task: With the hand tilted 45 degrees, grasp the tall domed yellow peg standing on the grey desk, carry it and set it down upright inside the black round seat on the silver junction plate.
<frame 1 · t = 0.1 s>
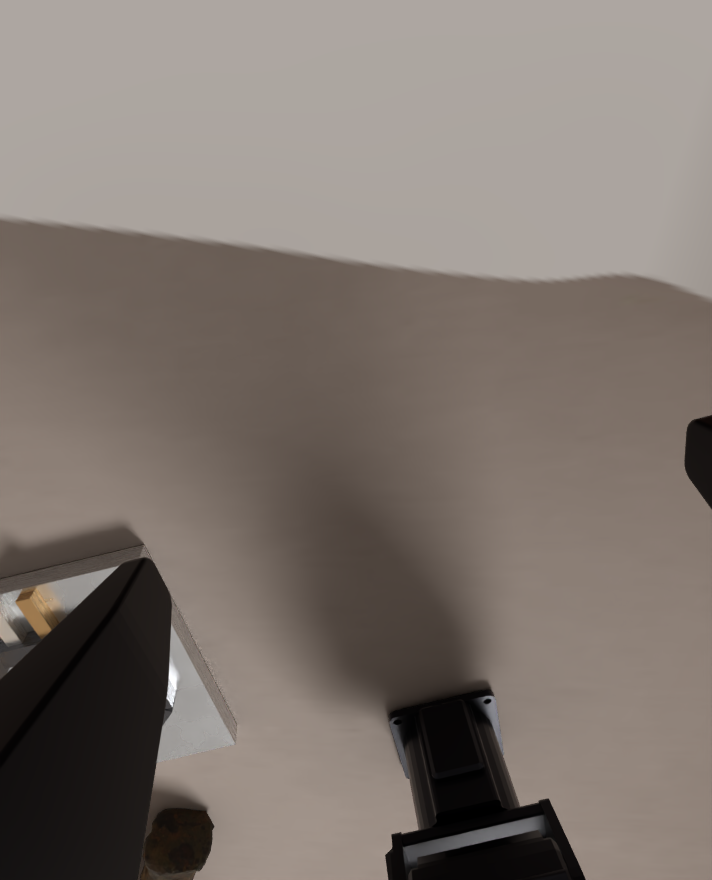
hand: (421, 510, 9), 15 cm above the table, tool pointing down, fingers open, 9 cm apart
junction plate: (87, 670, 30), on the table
hand tool: (169, 876, 41), on the table
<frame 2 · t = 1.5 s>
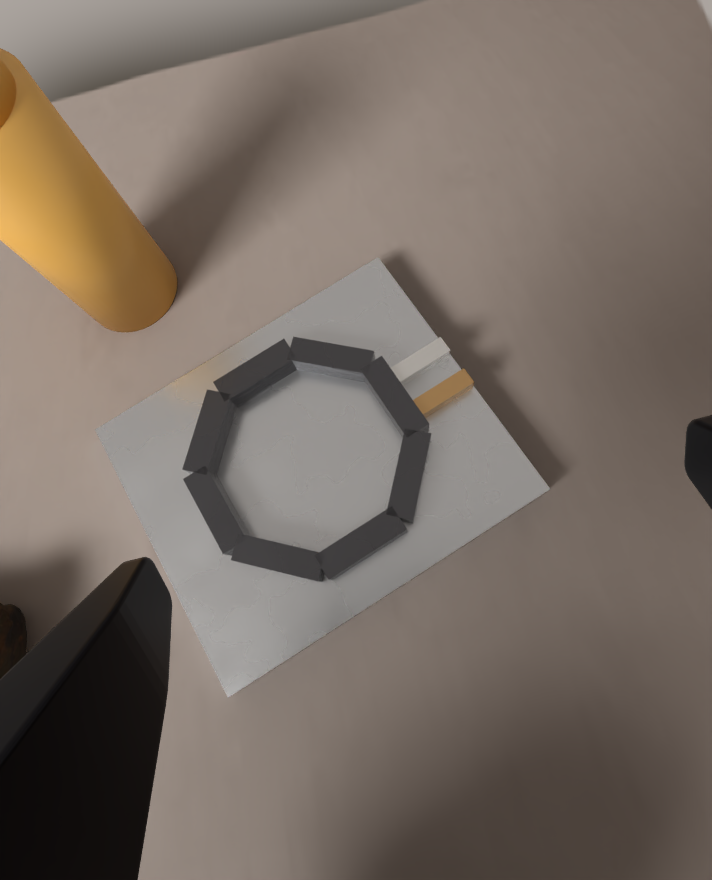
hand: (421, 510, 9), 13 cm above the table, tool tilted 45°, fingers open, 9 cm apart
junction plate: (314, 464, 23), on the table
domed yellow peg: (132, 289, 27), on the table
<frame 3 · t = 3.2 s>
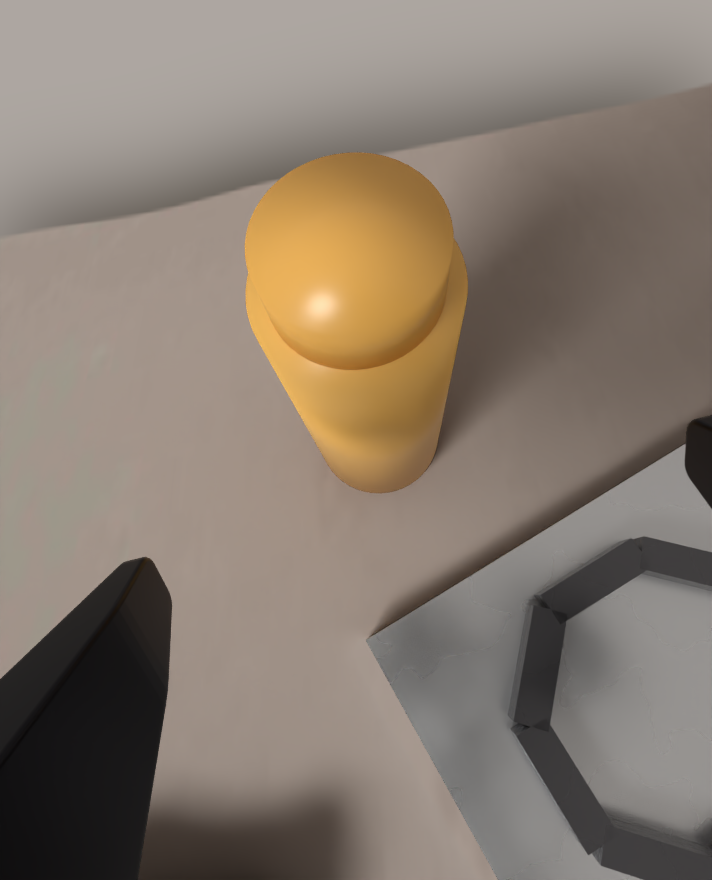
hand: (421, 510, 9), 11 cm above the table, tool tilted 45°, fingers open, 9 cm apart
junction plate: (652, 694, 18), on the table
domed yellow peg: (378, 435, 21), on the table
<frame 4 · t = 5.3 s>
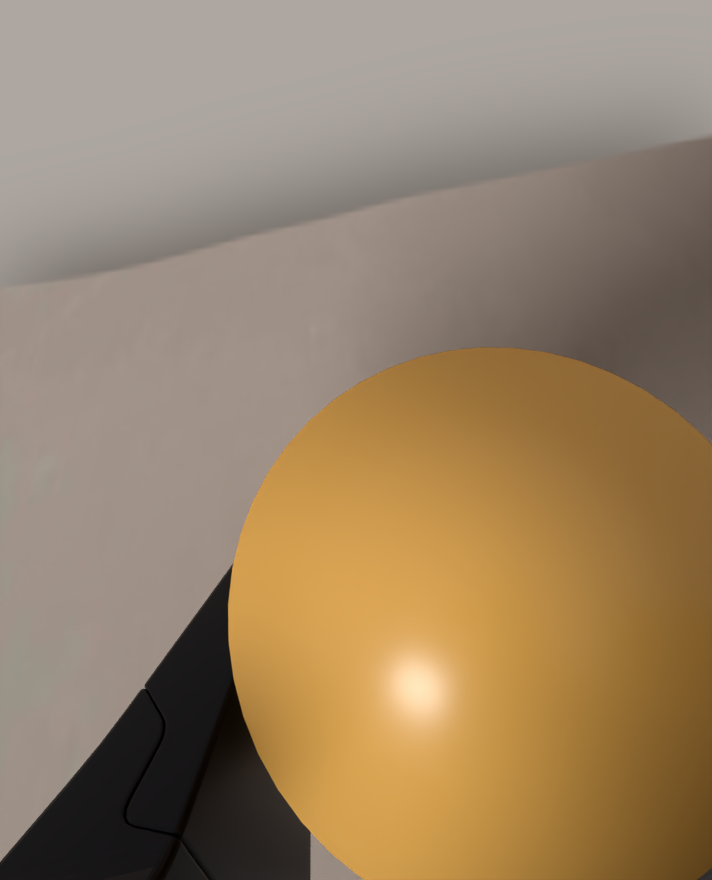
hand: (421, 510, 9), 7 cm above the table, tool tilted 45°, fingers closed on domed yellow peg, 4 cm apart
domed yellow peg: (428, 596, 15), on the table, touching gripper
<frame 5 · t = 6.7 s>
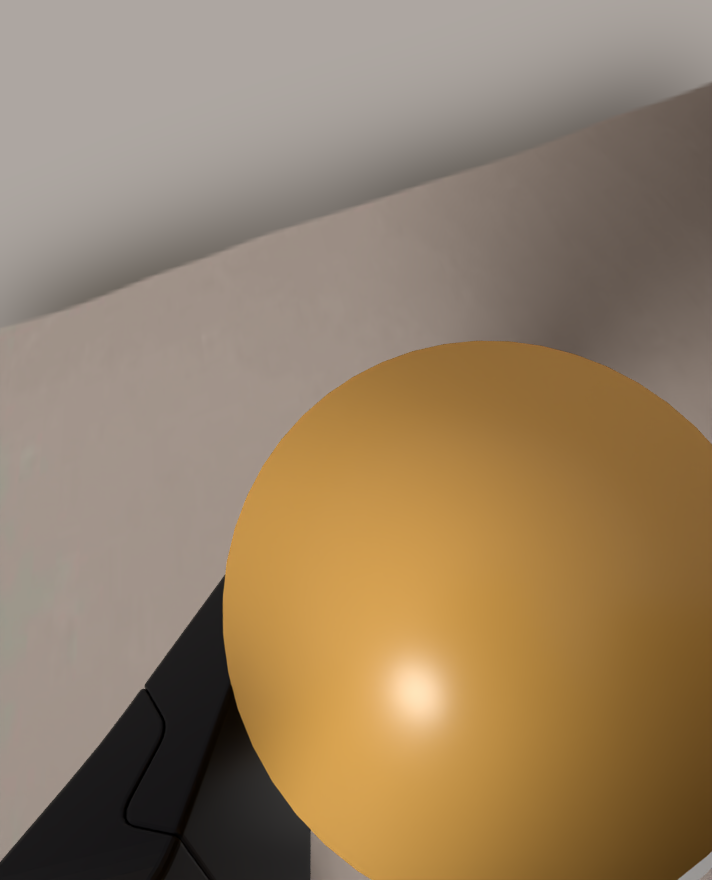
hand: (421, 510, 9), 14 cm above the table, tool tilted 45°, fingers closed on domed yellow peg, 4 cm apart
junction plate: (553, 710, 21), on the table
domed yellow peg: (427, 595, 15), point 7 cm above the table, touching gripper
when the fingers open (9 cm above the table, at t = 8.5 s): domed yellow peg drops 1 cm, resting on junction plate.
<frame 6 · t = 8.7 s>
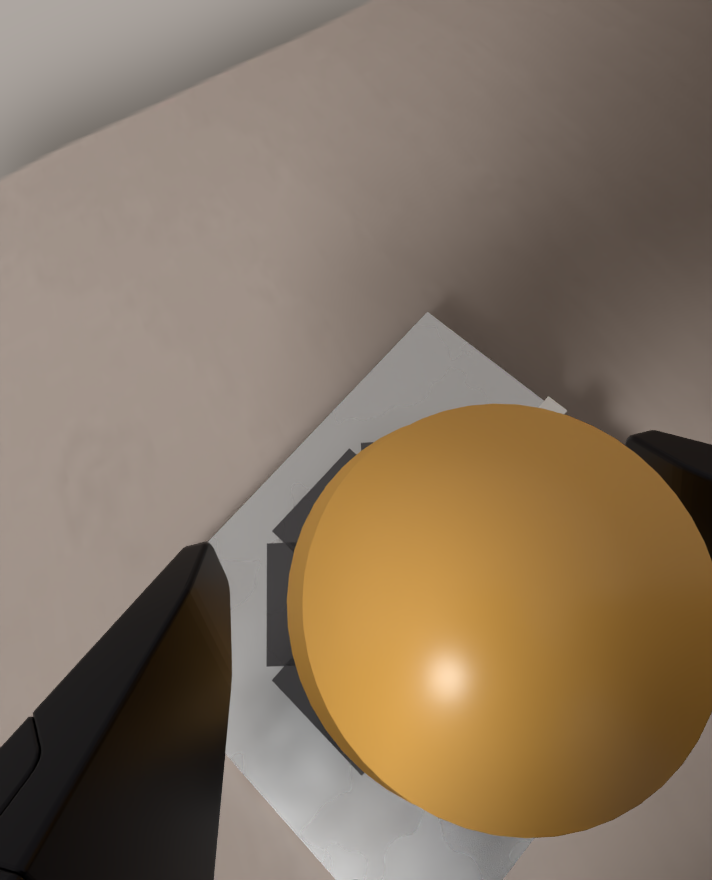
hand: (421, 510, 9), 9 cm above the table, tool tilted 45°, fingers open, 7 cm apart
junction plate: (424, 596, 18), on the table
domed yellow peg: (424, 598, 16), point 1 cm above the table, touching junction plate
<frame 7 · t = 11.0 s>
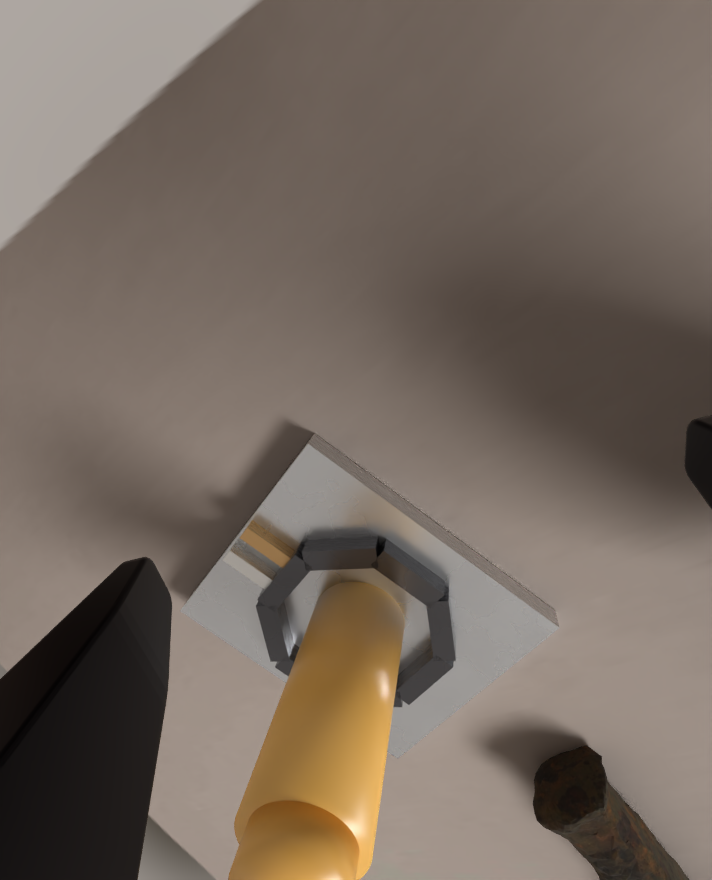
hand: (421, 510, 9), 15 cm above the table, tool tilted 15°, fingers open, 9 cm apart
junction plate: (361, 603, 28), on the table
hand tool: (659, 849, 32), on the table
domed yellow peg: (358, 620, 27), point 1 cm above the table, touching junction plate
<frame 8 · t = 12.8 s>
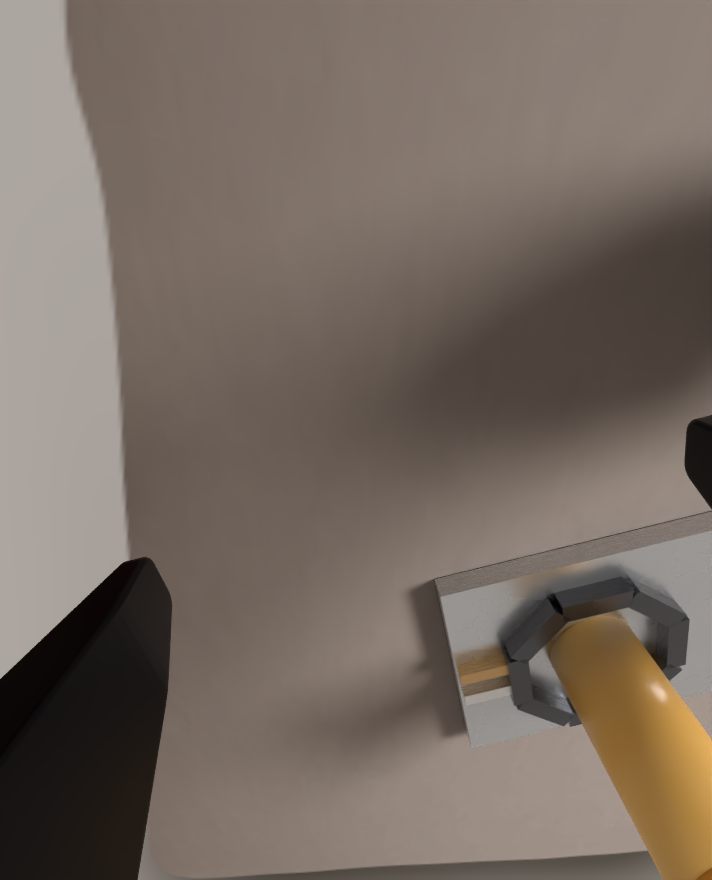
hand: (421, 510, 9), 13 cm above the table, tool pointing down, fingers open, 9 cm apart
junction plate: (579, 630, 30), on the table
domed yellow peg: (591, 648, 29), point 1 cm above the table, touching junction plate
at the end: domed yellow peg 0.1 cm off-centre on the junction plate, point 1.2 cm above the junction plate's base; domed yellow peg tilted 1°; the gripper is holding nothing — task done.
